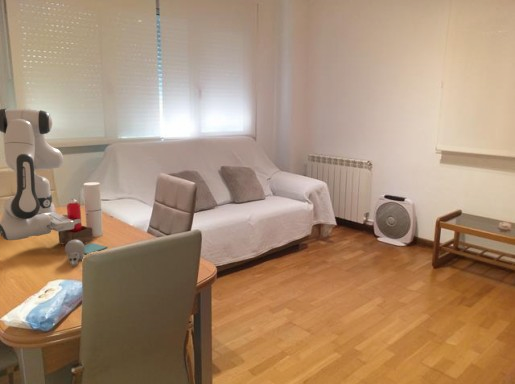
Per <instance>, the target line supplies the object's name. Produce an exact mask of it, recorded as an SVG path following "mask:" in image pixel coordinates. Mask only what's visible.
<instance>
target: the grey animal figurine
mask: <svg viewBox="0 0 515 384" xmlns="http://www.w3.org/2000/svg"><path fill="white" fill-rule="evenodd" d="M84 245H85V243H84V244H83V243H82V242H81V241H80V240H71V241H69V242H68V243H67V244H66V245H65V246H64V251H65V254H66V255H67V260H68V261H69V262H70V263H69V264H70V266H72V267H76V266H77V265H79V261H81V262H82V261H83V260H84V259H83V257H84V258H85V255H86V254H85V246H84ZM82 259H83V260H82Z"/></svg>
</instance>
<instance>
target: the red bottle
mask: <svg viewBox="0 0 515 384" xmlns="http://www.w3.org/2000/svg"><path fill="white" fill-rule="evenodd" d="M66 215H68V218H69V219H71V220H75V219H78V218H79V219H81V220H82V214H81V204H80V203H79V202H78V200H76V198H71V199H70V200H69V203H68V204H67V205H66ZM82 226H83V225H82V222H81V223H77V224H75V225H74V229H71V230H69V232H72V233H75V232H78V231H81V230H82Z"/></svg>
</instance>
